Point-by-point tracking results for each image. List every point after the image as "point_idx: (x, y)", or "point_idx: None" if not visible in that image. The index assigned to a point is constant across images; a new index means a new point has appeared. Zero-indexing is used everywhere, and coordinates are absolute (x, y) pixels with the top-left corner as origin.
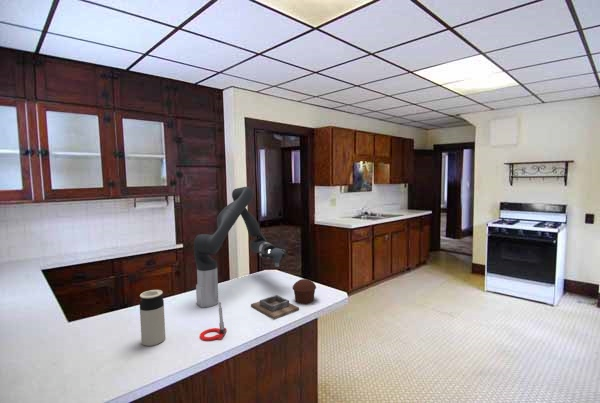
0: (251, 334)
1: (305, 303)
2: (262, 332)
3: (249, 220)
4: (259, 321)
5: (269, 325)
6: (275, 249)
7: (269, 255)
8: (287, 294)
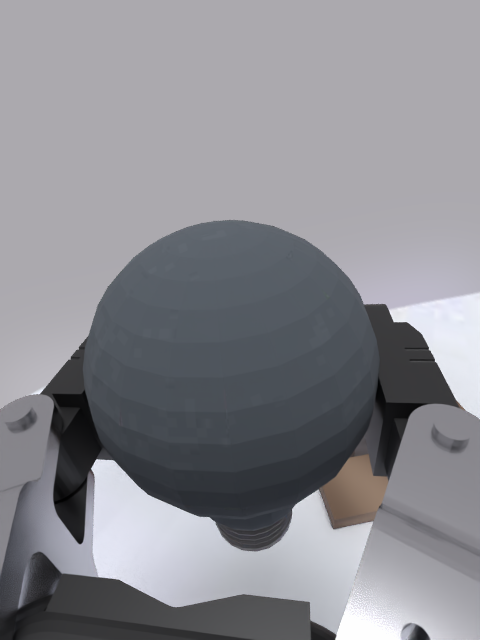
0: (477, 304)
1: None
2: (440, 303)
3: None
4: (452, 348)
5: (414, 322)
6: (277, 228)
7: (422, 359)
8: (218, 559)
